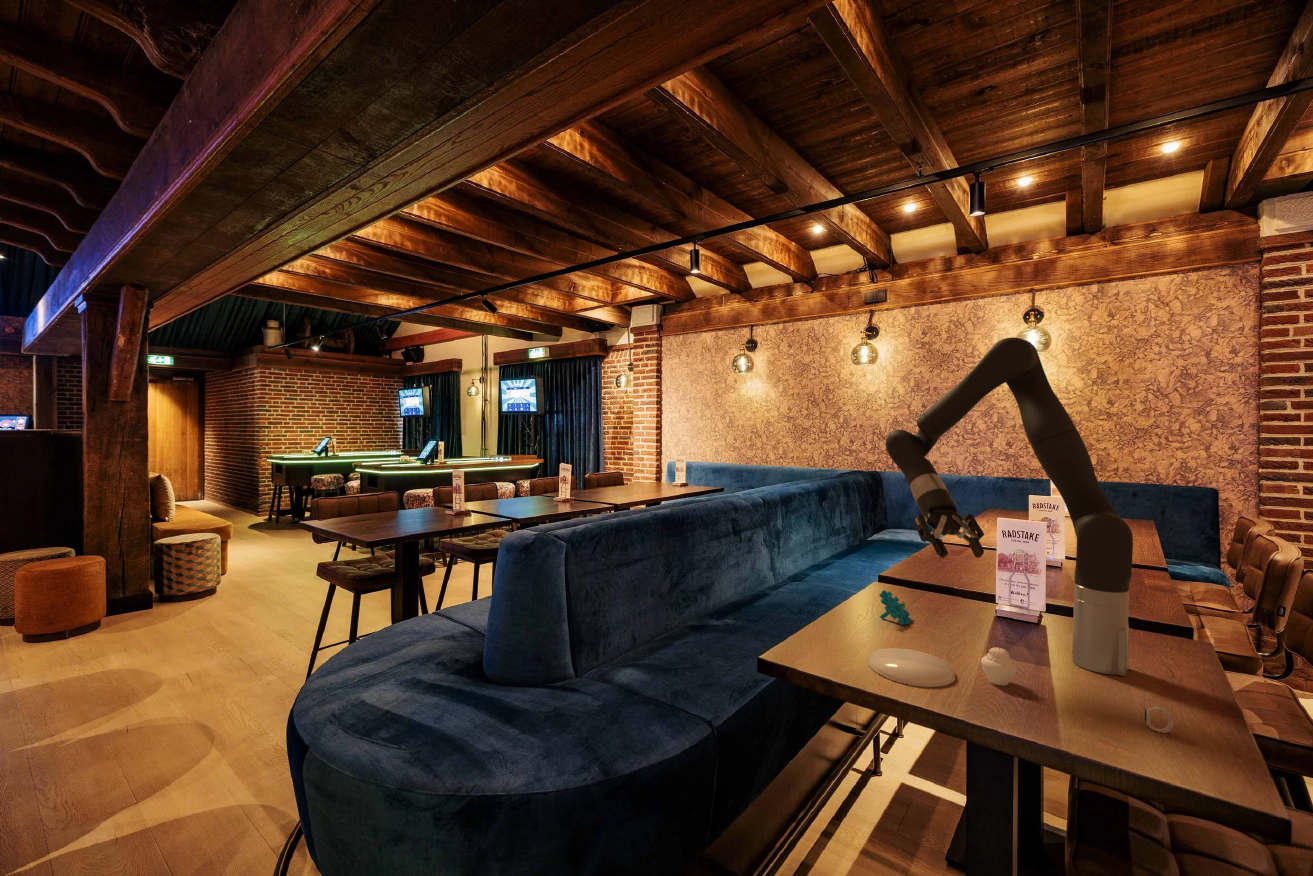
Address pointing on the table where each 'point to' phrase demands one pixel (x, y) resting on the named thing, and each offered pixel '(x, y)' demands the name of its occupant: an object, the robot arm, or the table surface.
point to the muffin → (998, 666)
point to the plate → (911, 667)
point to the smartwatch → (1148, 715)
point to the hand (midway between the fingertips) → (962, 556)
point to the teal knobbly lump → (894, 608)
